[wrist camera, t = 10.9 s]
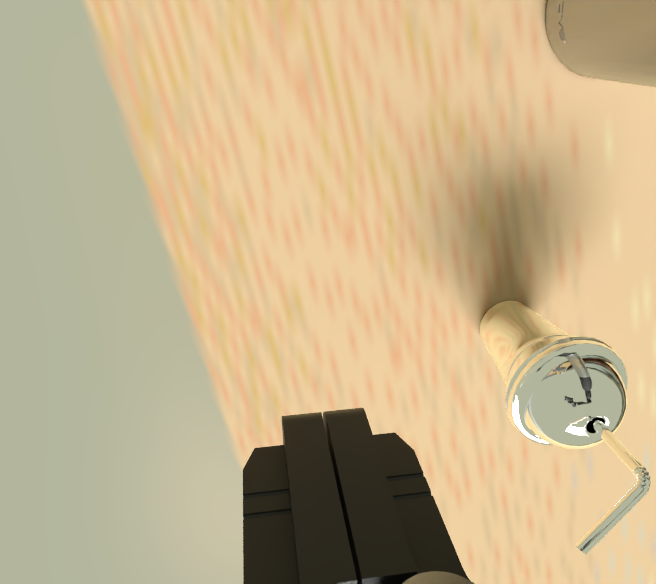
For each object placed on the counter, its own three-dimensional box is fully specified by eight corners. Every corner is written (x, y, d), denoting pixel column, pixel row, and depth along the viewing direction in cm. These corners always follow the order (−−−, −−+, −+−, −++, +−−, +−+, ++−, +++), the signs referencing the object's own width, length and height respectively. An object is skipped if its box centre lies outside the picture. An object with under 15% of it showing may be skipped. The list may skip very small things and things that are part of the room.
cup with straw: (558, 350, 50) (736, 529, 32) (460, 382, 50) (583, 580, 32) (547, 264, 47) (742, 413, 29) (441, 299, 47) (569, 469, 28)
